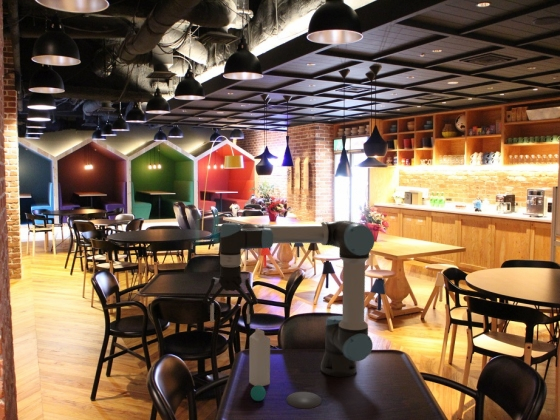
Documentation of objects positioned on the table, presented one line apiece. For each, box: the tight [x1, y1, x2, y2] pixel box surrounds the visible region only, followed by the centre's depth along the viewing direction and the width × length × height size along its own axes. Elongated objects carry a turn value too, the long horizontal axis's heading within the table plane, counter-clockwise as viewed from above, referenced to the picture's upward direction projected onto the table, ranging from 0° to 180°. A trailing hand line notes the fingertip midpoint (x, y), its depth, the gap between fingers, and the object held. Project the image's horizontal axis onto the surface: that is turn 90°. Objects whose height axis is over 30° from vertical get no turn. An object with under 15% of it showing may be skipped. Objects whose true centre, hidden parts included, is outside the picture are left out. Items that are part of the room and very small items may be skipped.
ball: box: [250, 385, 267, 402], centre depth 182 cm, size 6×6×6 cm
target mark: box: [286, 391, 322, 409], centre depth 183 cm, size 13×13×1 cm
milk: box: [248, 327, 271, 387], centre depth 196 cm, size 6×6×22 cm
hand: (230, 322), depth 182 cm, fingers open, 13 cm apart
